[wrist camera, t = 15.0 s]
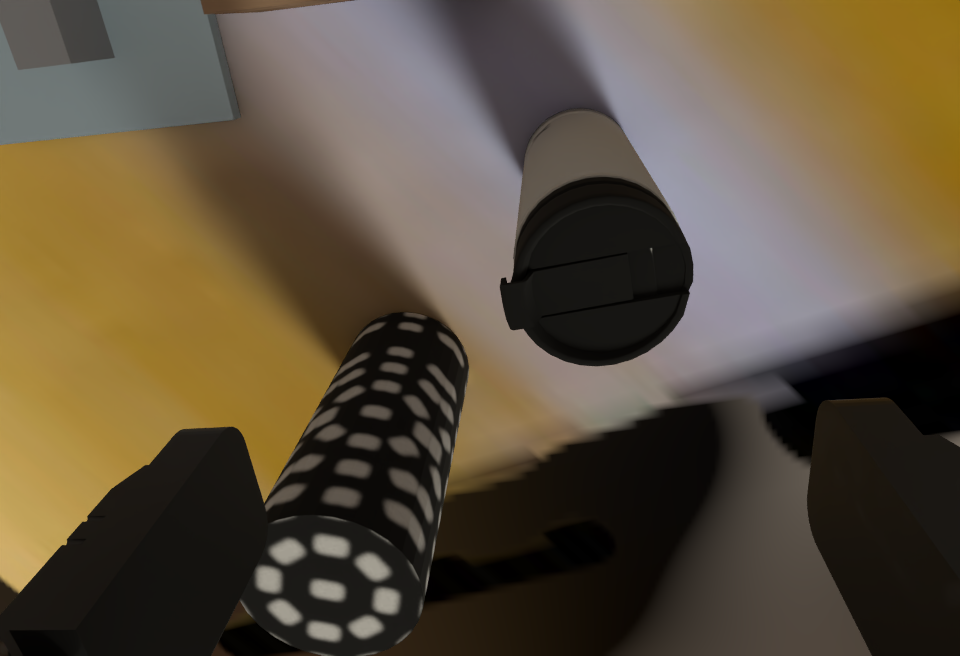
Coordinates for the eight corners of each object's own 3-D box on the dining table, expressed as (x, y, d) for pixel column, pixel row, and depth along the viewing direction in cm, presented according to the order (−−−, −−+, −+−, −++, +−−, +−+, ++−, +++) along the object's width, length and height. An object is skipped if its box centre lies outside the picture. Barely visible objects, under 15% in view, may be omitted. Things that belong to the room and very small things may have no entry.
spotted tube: (346, 405, 49) (233, 639, 31) (355, 302, 46) (232, 498, 28) (459, 426, 49) (411, 672, 31) (477, 324, 46) (434, 535, 28)
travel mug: (509, 120, 40) (482, 220, 22) (624, 97, 39) (695, 182, 21) (528, 223, 42) (517, 388, 24) (636, 204, 41) (709, 362, 23)
